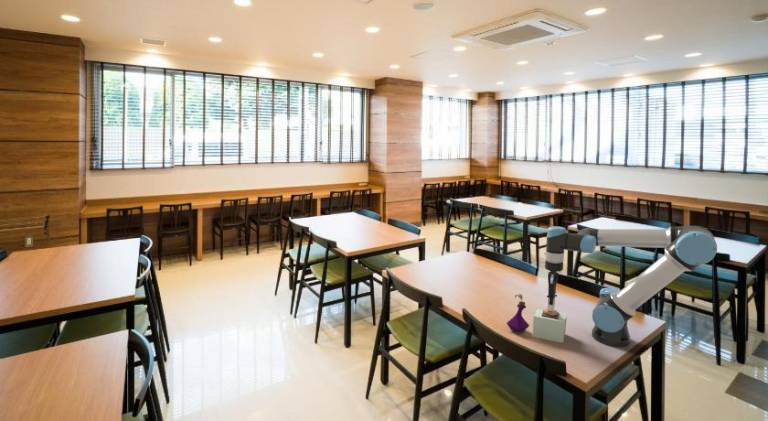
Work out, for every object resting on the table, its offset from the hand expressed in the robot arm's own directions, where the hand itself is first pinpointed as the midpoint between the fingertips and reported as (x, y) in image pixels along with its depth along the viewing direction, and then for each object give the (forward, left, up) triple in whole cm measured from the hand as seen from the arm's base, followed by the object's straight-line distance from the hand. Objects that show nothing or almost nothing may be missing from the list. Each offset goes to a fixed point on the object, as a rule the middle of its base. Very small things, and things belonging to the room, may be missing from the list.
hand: (550, 310), depth 183 cm
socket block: (0, 0, -12) cm, 12 cm away
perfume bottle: (+14, +2, -12) cm, 19 cm away
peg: (0, 0, -10) cm, 10 cm away
